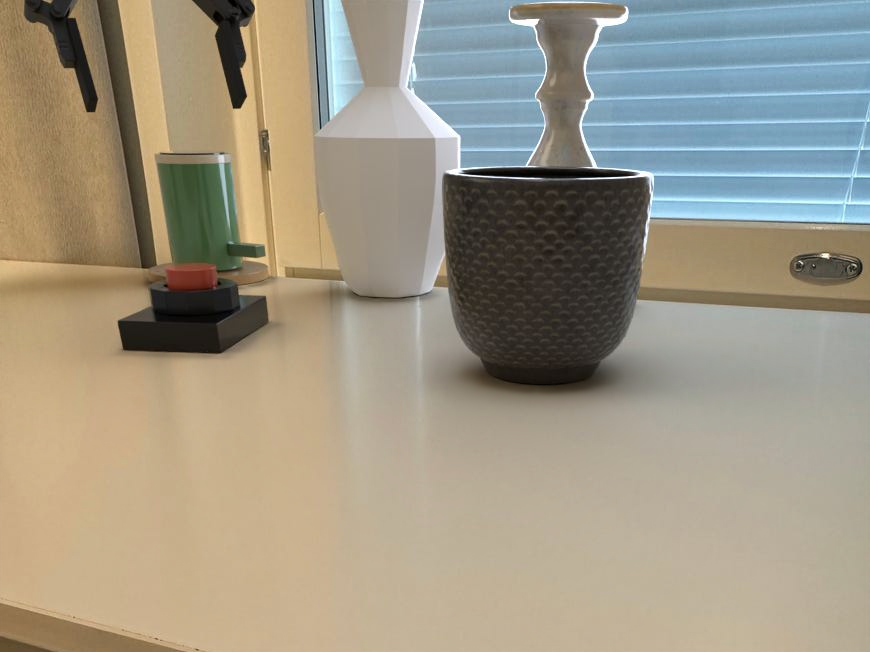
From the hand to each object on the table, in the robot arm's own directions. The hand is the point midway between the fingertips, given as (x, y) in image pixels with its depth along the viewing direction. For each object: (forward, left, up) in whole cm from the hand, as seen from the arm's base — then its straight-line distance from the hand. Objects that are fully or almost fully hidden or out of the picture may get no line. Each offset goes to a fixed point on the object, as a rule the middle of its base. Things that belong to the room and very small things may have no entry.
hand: (168, 104), depth 82 cm
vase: (+20, +5, -17) cm, 26 cm away
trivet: (-2, +10, -17) cm, 19 cm away
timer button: (+8, -18, -13) cm, 24 cm away
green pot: (-1, +9, -15) cm, 18 cm away
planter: (+37, -26, -17) cm, 48 cm away
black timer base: (+8, -18, -17) cm, 26 cm away
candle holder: (+37, +1, -17) cm, 40 cm away
